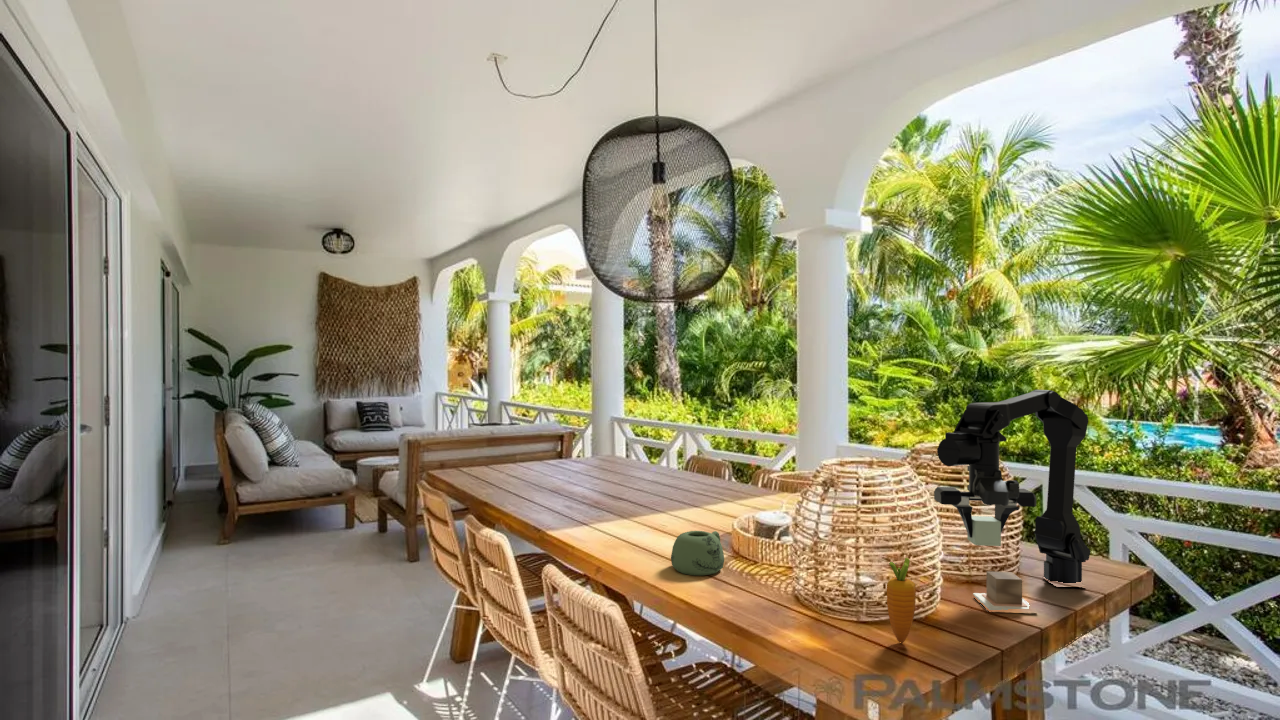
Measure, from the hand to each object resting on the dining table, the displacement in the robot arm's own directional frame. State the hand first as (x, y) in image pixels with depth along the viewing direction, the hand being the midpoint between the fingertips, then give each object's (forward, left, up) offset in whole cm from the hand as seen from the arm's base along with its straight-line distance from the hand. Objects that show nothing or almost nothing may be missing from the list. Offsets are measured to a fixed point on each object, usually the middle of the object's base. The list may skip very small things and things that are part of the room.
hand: (983, 537), depth 150 cm
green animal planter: (+59, -16, -13) cm, 63 cm away
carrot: (+23, +26, -13) cm, 37 cm away
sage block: (0, 0, -1) cm, 1 cm away
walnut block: (-3, +4, -12) cm, 13 cm away
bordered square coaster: (-3, +4, -13) cm, 14 cm away
